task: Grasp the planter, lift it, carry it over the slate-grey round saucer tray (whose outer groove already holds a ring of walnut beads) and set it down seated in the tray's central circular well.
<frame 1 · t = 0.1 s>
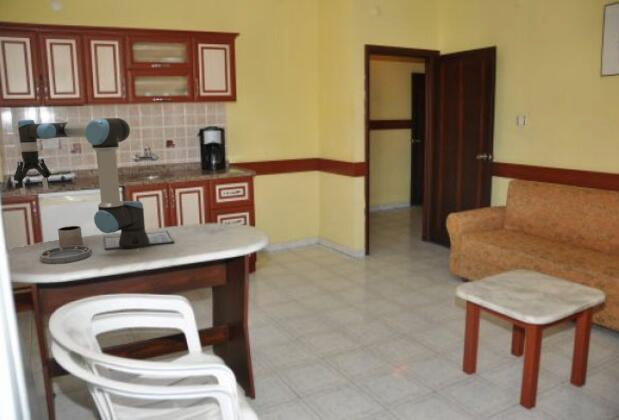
hand: (34, 192, 267), 28 cm above the table, fingers open, 13 cm apart
planter: (71, 246, 268), on the table
tray: (66, 256, 249), on the table
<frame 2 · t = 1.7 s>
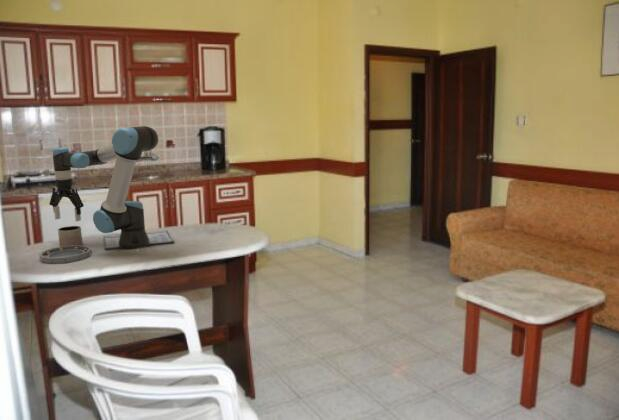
hand: (68, 219, 265), 14 cm above the table, fingers open, 13 cm apart
nothing on the table moved.
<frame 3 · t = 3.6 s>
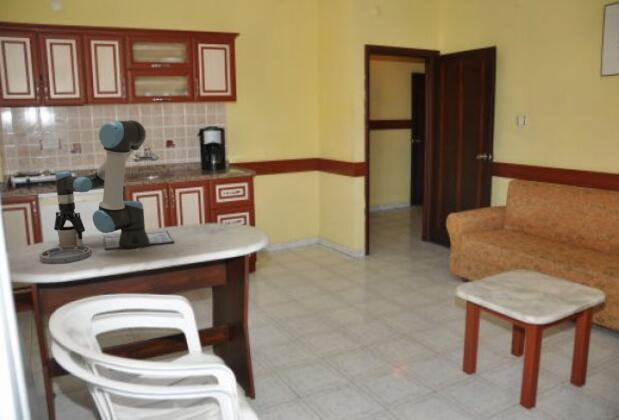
hand: (71, 244, 268), 1 cm above the table, fingers closed on planter, 11 cm apart
planter: (71, 246, 268), on the table, touching gripper
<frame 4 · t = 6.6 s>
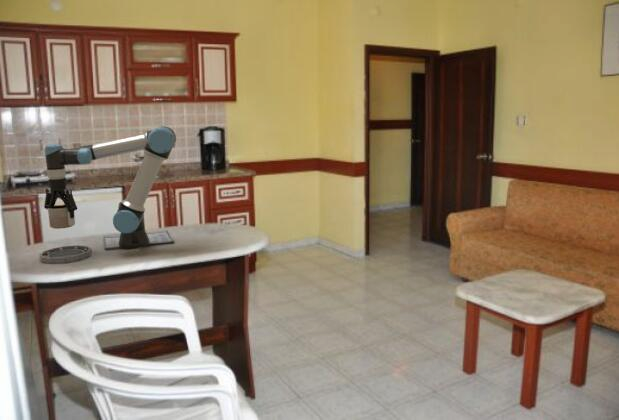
hand: (62, 224, 246), 16 cm above the table, fingers closed on planter, 11 cm apart
planter: (62, 226, 246), point 15 cm above the table, touching gripper
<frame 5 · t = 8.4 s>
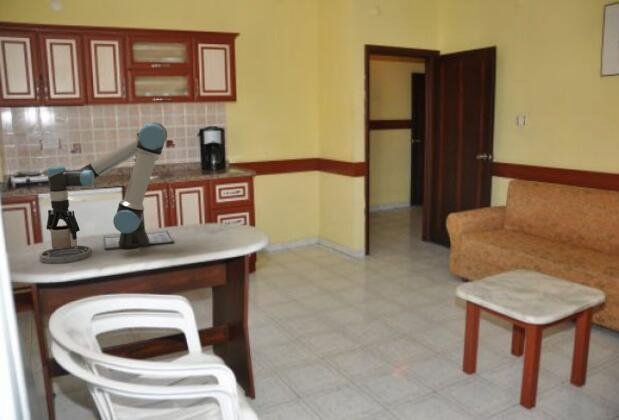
hand: (64, 244, 248), 6 cm above the table, fingers closed on planter, 11 cm apart
planter: (64, 247, 248), point 5 cm above the table, touching gripper
when the fingers open (4 cm above the table, at t = 9.9 s): planter drops 2 cm, resting on tray.
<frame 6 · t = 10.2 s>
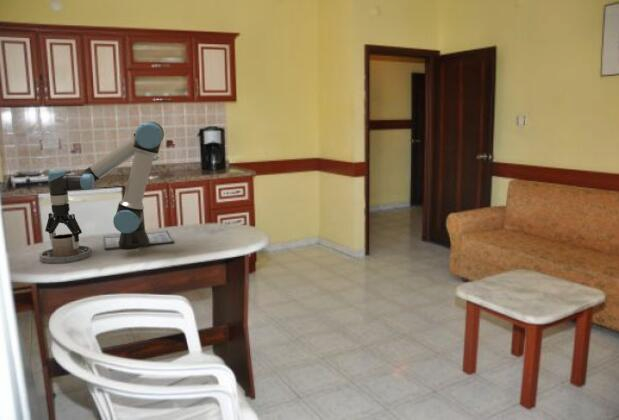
hand: (65, 247, 248), 5 cm above the table, fingers open, 13 cm apart
planter: (66, 255, 249), resting on tray
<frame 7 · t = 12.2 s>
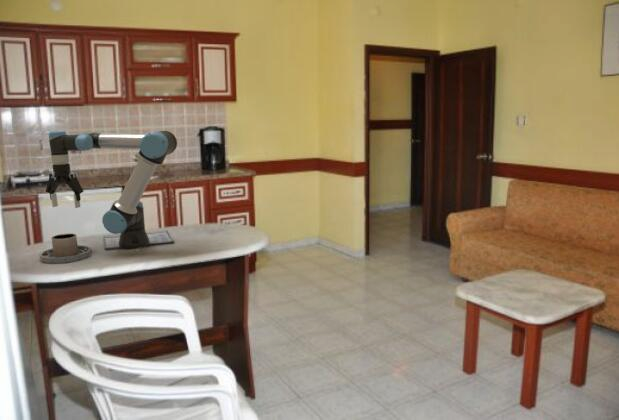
hand: (66, 207, 253), 23 cm above the table, fingers open, 13 cm apart
nothing on the table moved.
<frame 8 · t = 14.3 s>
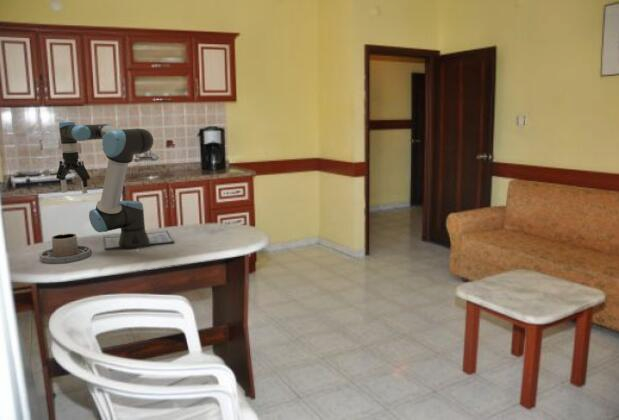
hand: (74, 192, 269), 27 cm above the table, fingers open, 13 cm apart
nothing on the table moved.
at the end: planter 0.1 cm from the tray (horizontally); planter resting on tray; planter tilted 0° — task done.
